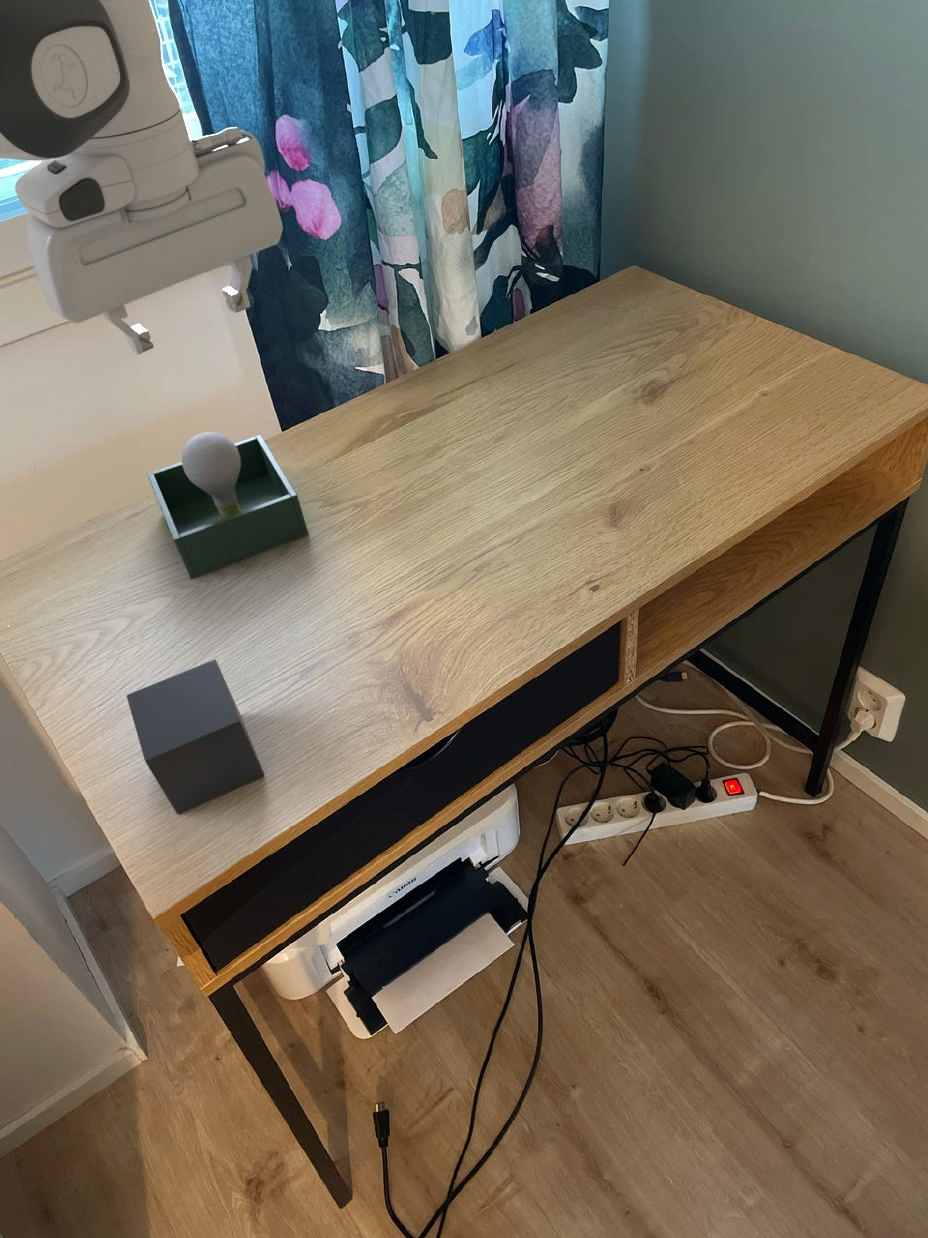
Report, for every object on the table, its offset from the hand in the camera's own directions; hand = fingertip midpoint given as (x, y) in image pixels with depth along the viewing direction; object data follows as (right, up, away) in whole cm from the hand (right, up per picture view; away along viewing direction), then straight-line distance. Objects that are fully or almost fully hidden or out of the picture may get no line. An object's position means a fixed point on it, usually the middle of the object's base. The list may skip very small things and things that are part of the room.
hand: (192, 328), depth 78 cm
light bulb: (0, -15, +14) cm, 21 cm away
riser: (+4, -37, -7) cm, 37 cm away
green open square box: (0, -15, +14) cm, 21 cm away
